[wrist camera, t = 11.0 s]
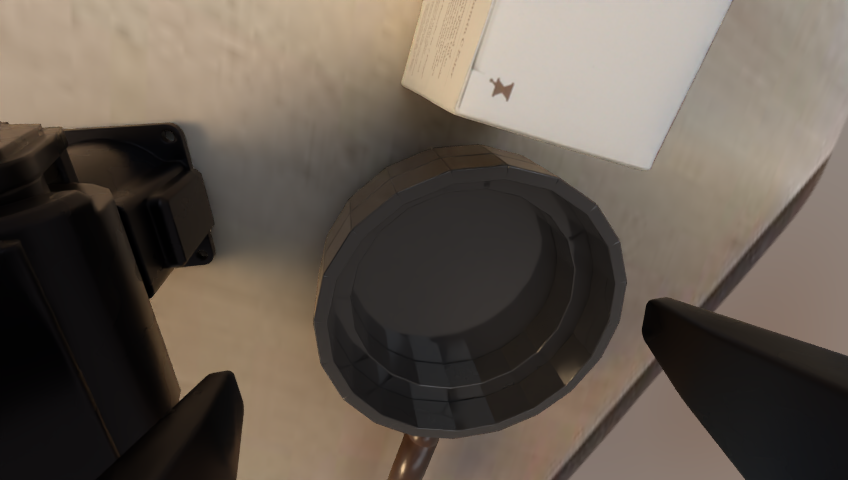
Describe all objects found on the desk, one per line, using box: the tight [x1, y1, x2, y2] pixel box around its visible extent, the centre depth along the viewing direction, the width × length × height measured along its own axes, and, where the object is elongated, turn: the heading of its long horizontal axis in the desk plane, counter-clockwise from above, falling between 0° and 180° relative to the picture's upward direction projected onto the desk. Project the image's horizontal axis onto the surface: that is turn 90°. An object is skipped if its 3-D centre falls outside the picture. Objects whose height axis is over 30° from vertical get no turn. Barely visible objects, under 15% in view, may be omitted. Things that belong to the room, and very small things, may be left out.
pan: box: [313, 144, 627, 439], centre depth 21 cm, size 14×14×4 cm
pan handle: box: [387, 433, 439, 480], centre depth 24 cm, size 9×2×2 cm, turn 163°
